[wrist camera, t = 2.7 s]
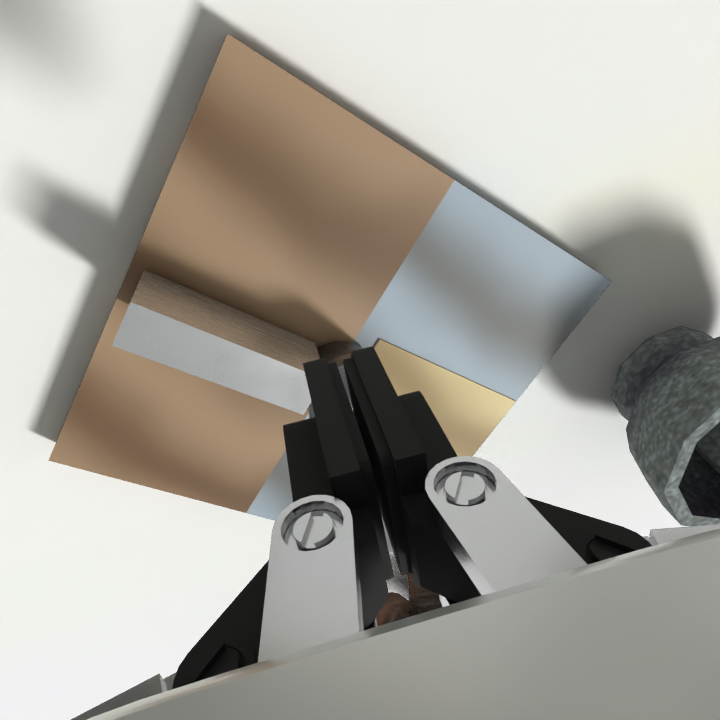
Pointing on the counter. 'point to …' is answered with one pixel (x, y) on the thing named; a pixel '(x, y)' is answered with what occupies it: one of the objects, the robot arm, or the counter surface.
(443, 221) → the latch board
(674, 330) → the mortar and pestle
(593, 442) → the counter surface
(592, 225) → the counter surface
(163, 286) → the bar
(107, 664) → the counter surface
